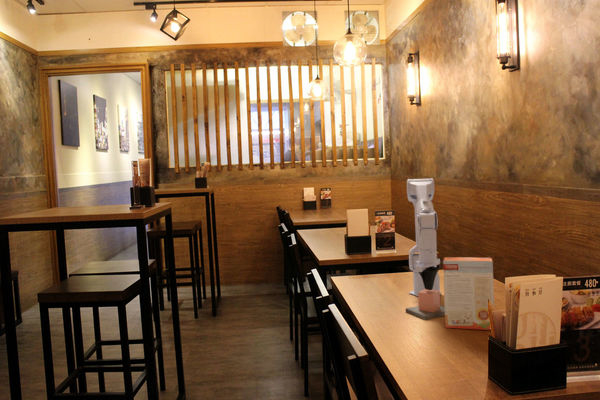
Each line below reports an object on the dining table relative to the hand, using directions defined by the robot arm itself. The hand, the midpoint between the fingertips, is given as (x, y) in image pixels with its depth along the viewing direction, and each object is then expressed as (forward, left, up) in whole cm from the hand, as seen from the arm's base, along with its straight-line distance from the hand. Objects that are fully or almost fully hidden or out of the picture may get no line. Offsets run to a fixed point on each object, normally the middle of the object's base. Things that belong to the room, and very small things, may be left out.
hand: (428, 289), depth 160 cm
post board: (0, 0, -8) cm, 8 cm away
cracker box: (-1, +17, -8) cm, 19 cm away
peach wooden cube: (0, 0, -7) cm, 7 cm away
